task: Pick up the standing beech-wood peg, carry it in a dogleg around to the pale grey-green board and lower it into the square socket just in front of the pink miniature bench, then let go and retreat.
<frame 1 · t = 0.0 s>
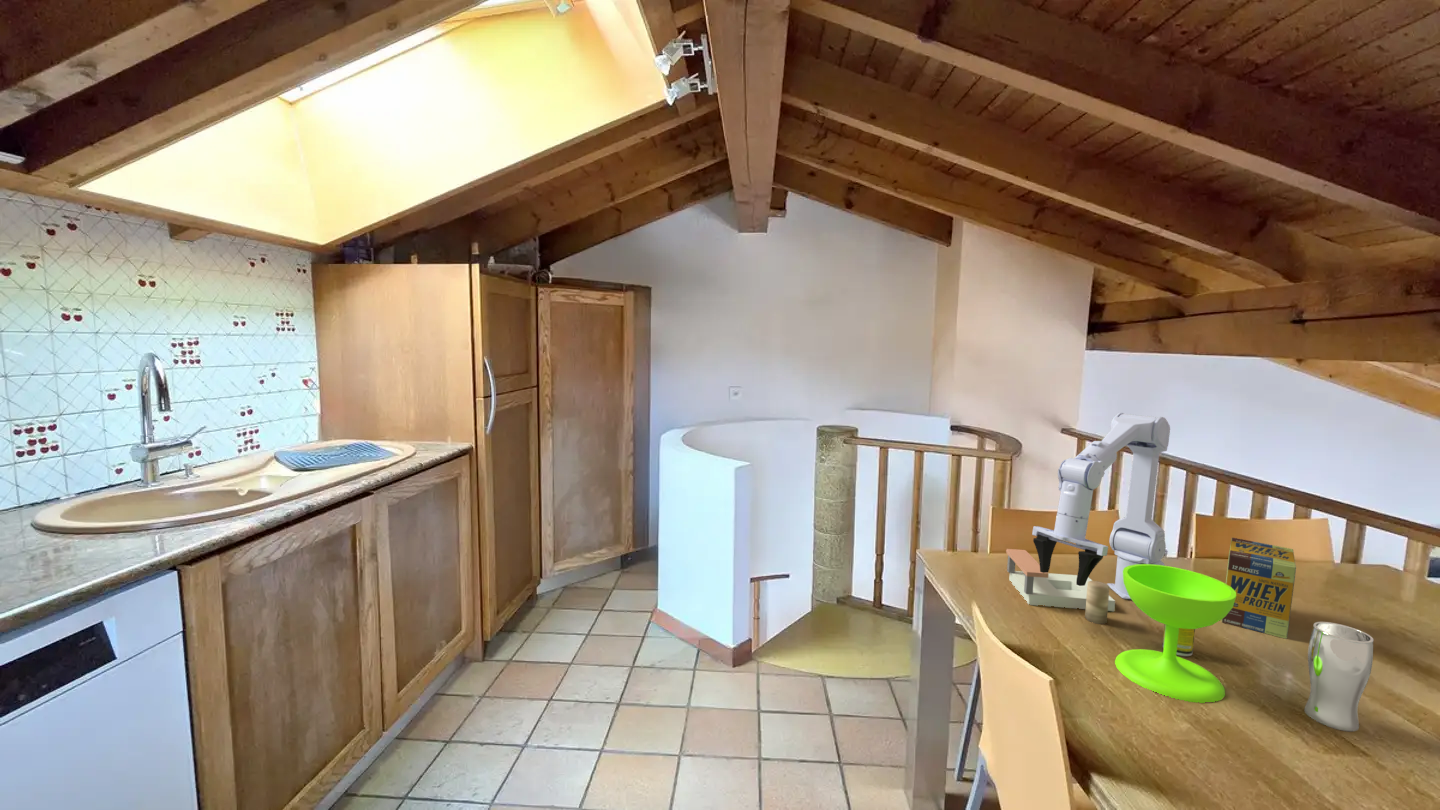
hand: (1061, 578, 123), 11 cm above the table, tool pointing down, fingers open, 7 cm apart
pink miniature bench: (1022, 592, 140), resting on socket board
protein box: (1253, 619, 128), on the table
wineglass: (1167, 676, 106), on the table
socket board: (1058, 594, 139), on the table
beer glass: (1330, 720, 94), on the table
peg: (1095, 619, 127), on the table
supplement bottle: (1176, 651, 114), on the table
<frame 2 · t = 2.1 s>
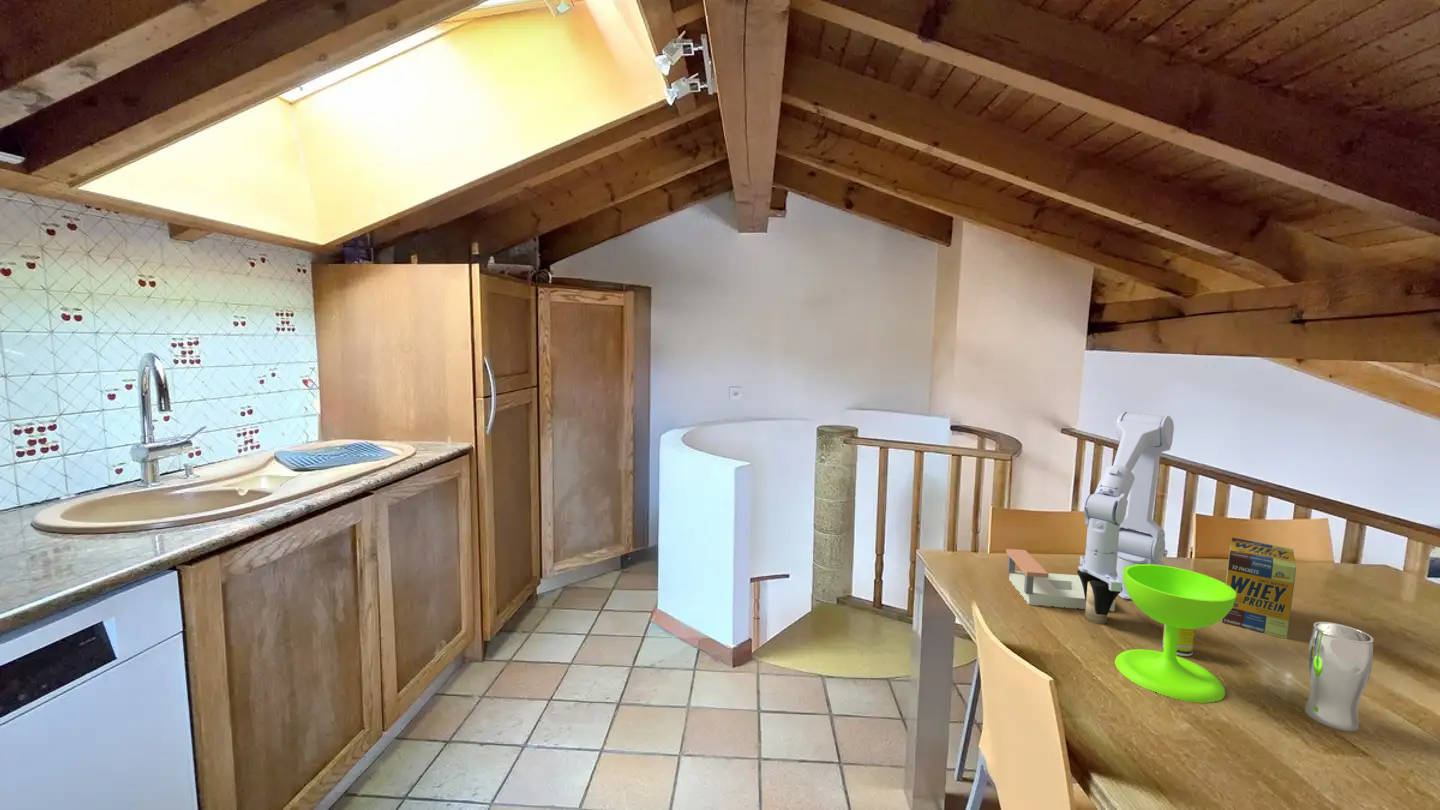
hand: (1096, 609, 126), 2 cm above the table, tool pointing down, fingers closed on peg, 4 cm apart
peg: (1095, 619, 127), on the table, touching gripper
everything else where it was.
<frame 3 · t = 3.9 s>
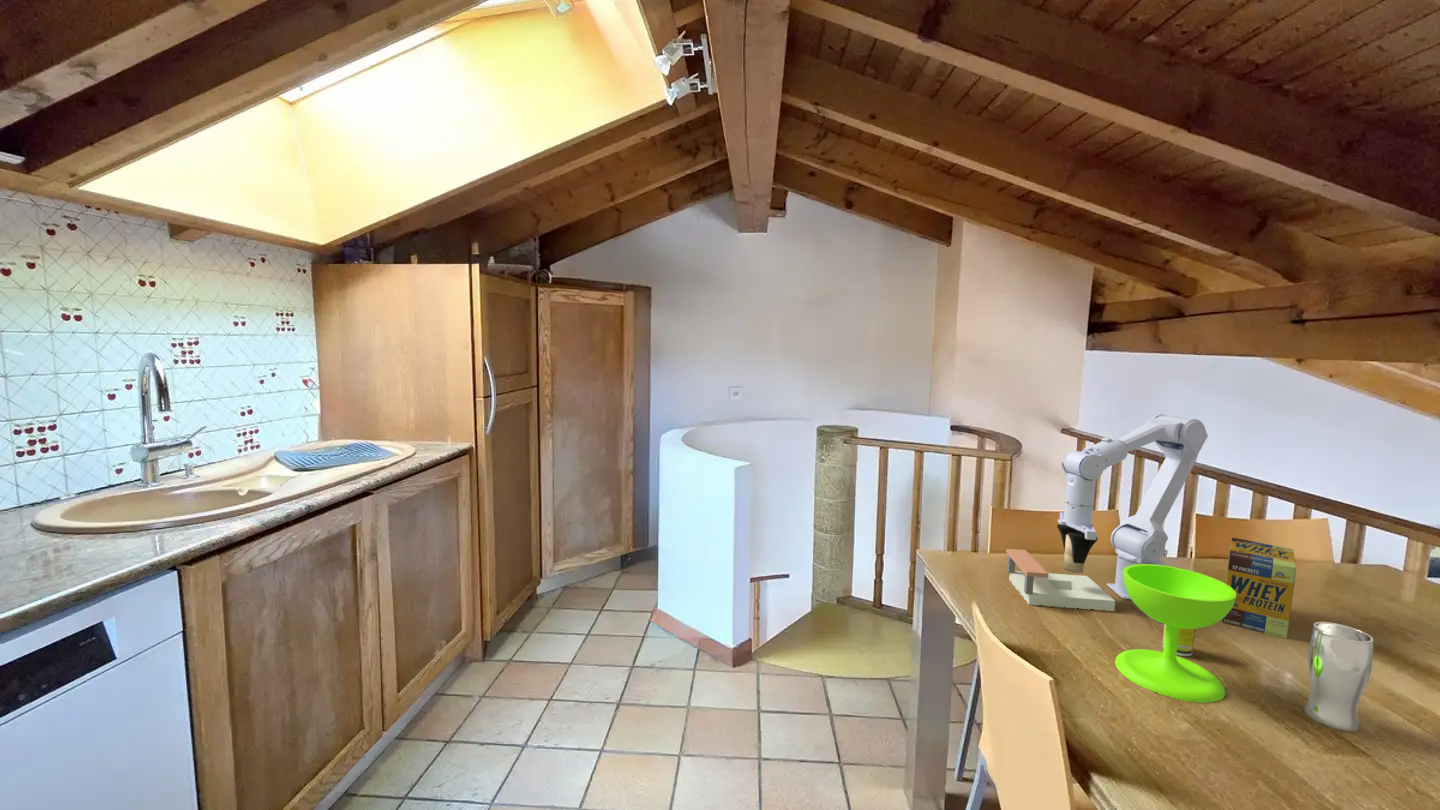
hand: (1074, 559, 137), 9 cm above the table, tool pointing down, fingers closed on peg, 4 cm apart
peg: (1073, 569, 137), point 7 cm above the table, touching gripper
everything else where it was.
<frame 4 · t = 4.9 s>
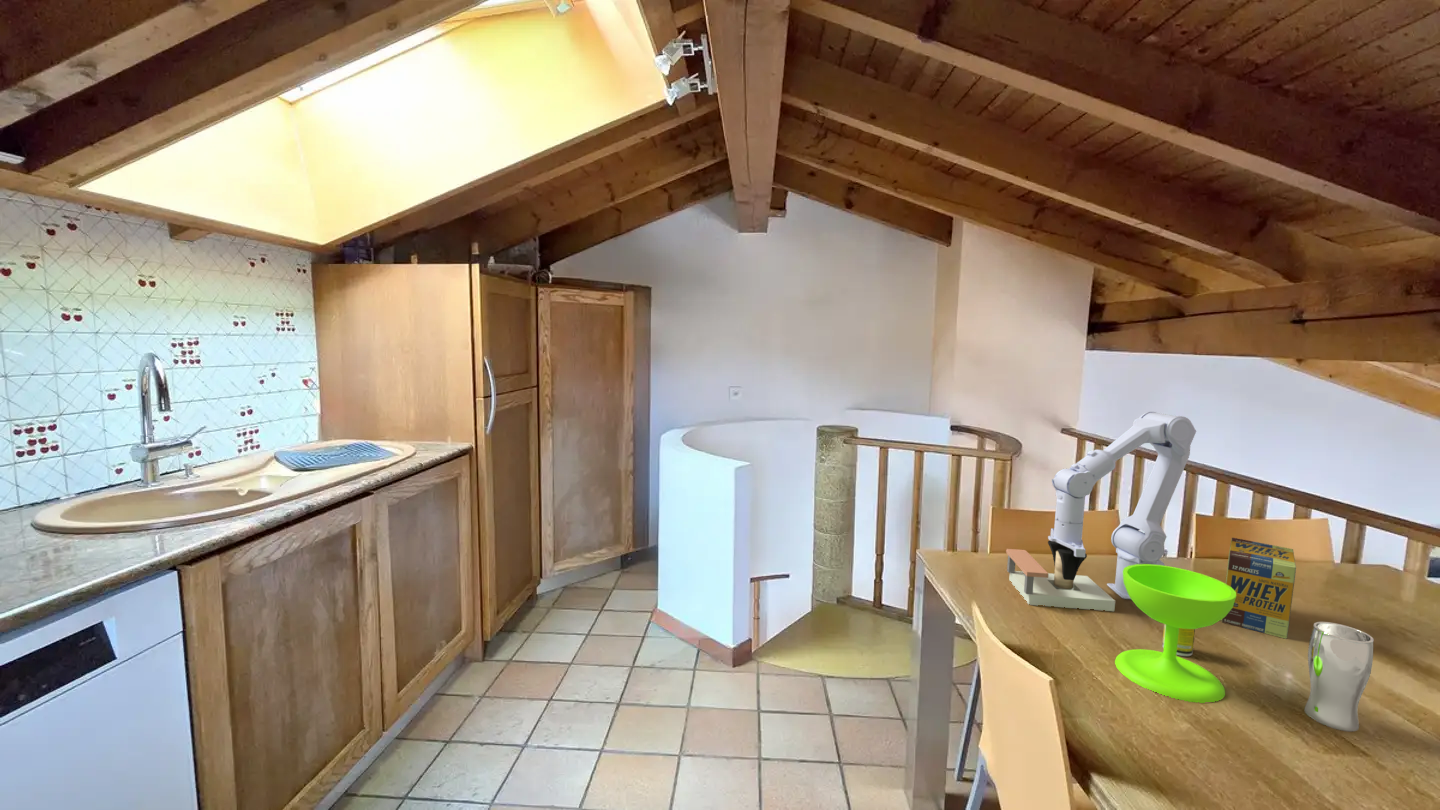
hand: (1064, 575, 138), 5 cm above the table, tool pointing down, fingers closed on peg, 4 cm apart
peg: (1063, 585, 139), point 2 cm above the table, touching gripper
everything else where it was.
when the fingers open (3 cm above the table, at t = 5.6 s): peg stays where it is, resting in socket board.
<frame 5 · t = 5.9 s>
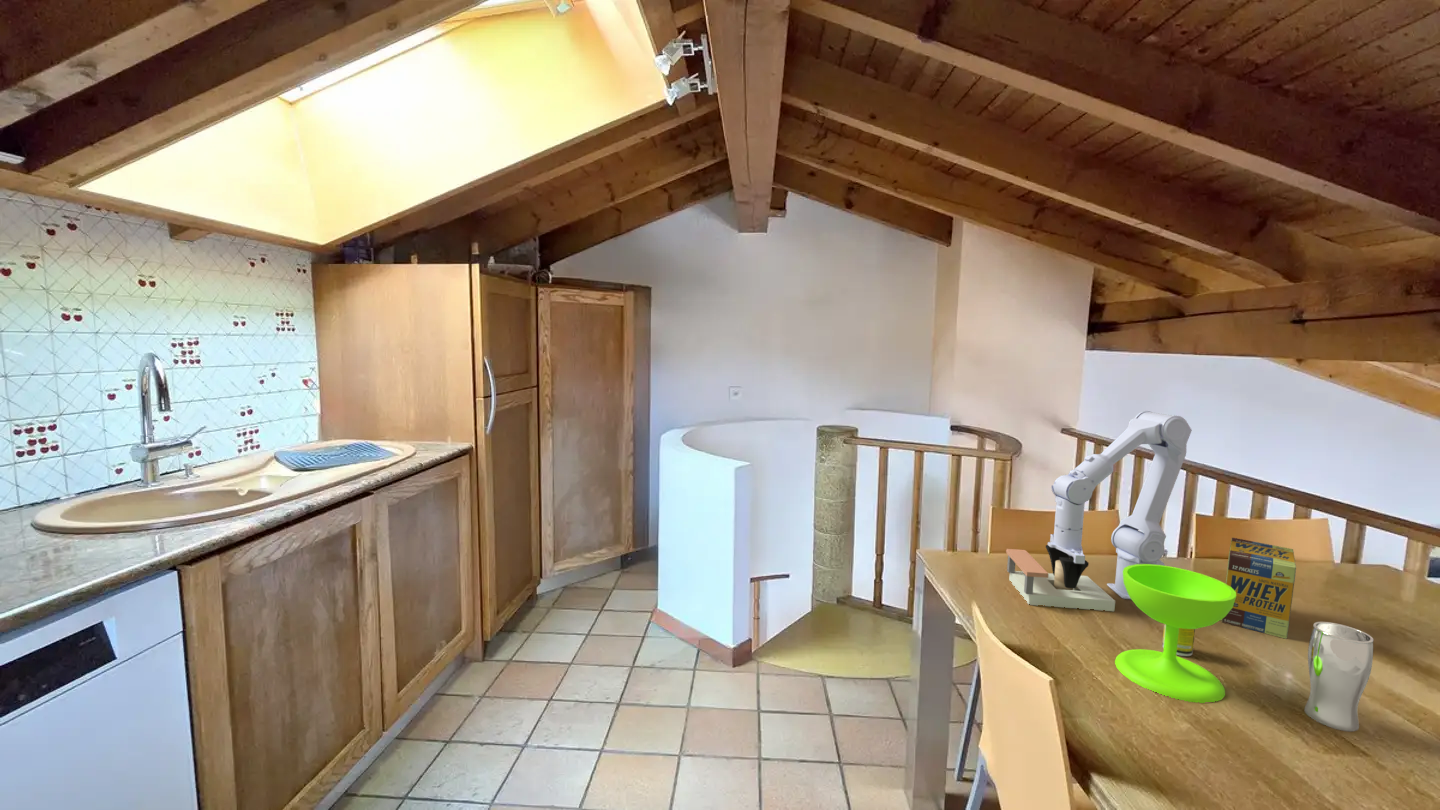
hand: (1064, 581, 138), 3 cm above the table, tool pointing down, fingers open, 6 cm apart
peg: (1062, 595, 139), resting in socket board
everything else where it was.
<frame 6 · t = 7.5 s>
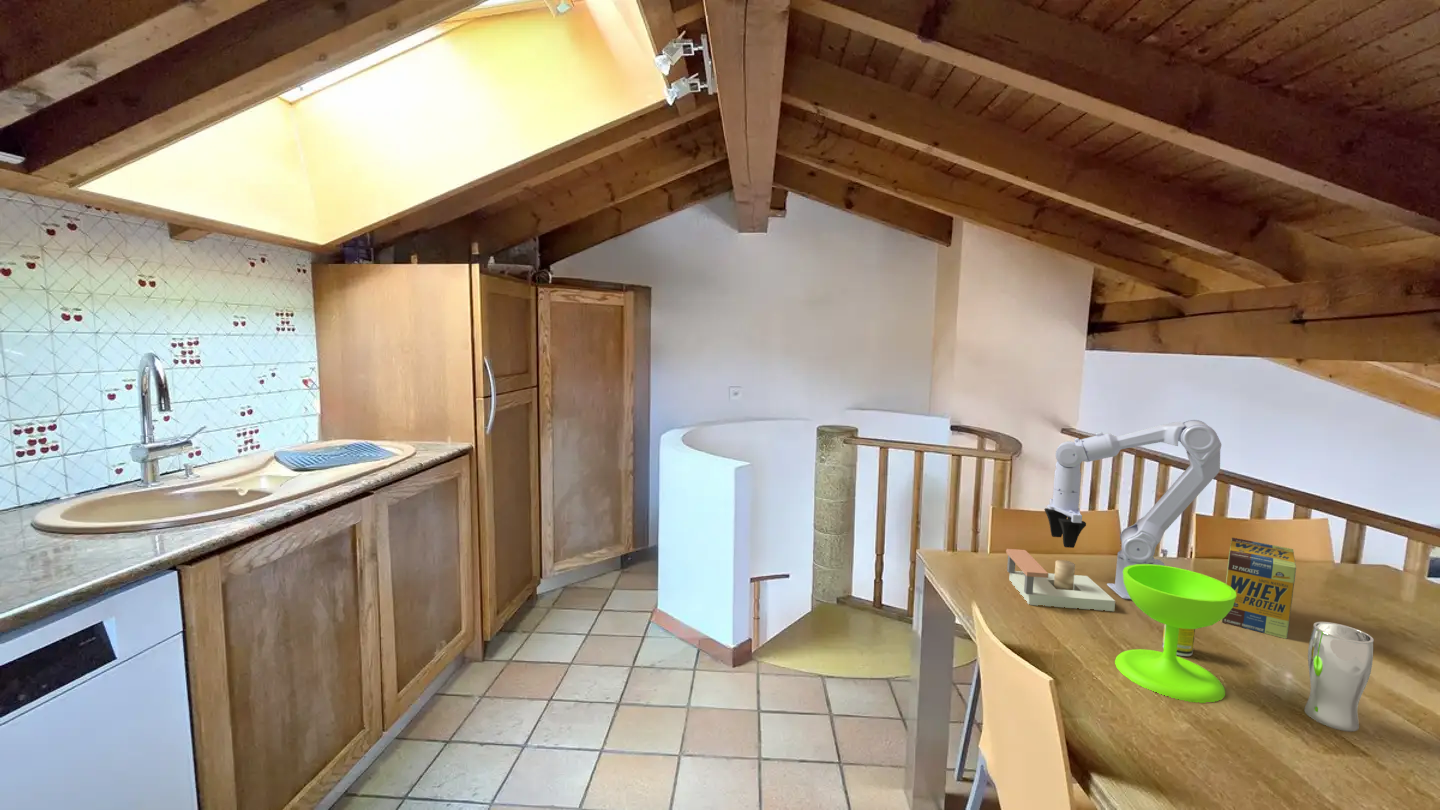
hand: (1062, 541, 147), 10 cm above the table, tool pointing down, fingers open, 7 cm apart
nothing on the table moved.
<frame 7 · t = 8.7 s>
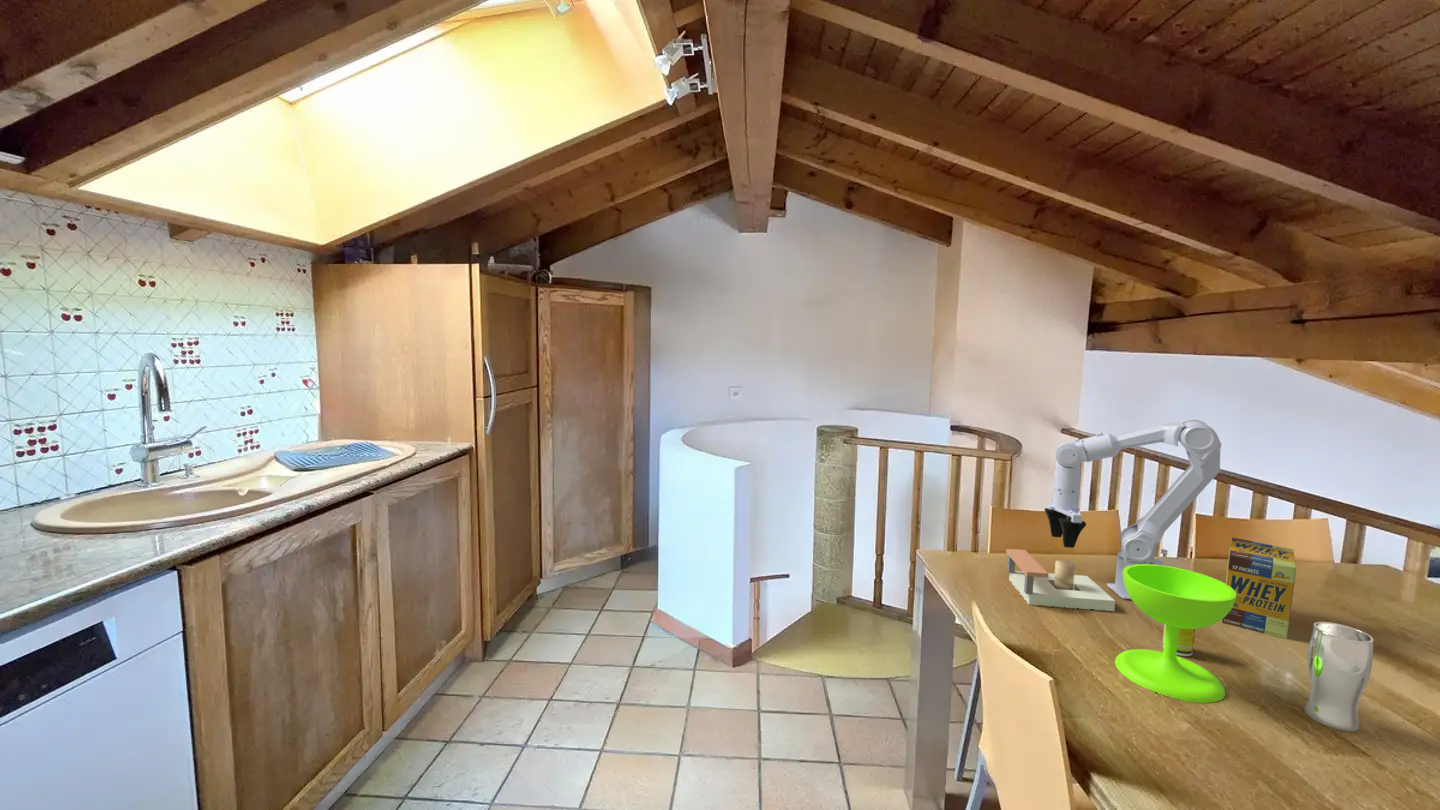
hand: (1062, 541, 147), 10 cm above the table, tool pointing down, fingers open, 7 cm apart
nothing on the table moved.
at the end: peg 0.1 cm from the target spot in the socket board, point 0.0 cm above the socket board's base; peg tilted 0°; the gripper is holding nothing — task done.
